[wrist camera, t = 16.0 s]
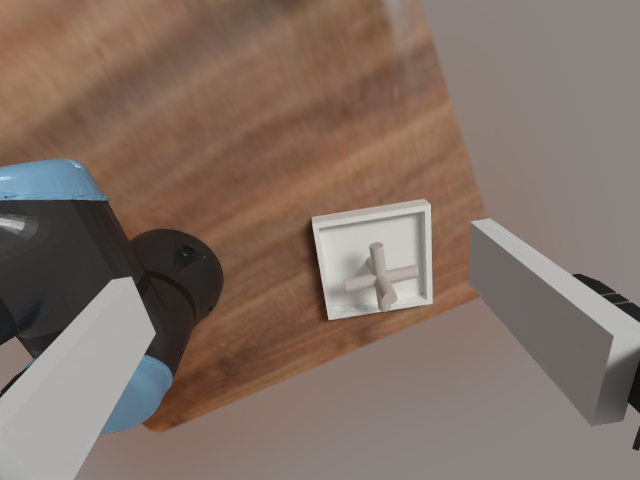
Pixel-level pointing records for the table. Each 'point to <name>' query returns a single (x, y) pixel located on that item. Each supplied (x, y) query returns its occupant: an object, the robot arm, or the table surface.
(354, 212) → the tray
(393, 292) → the pipe connector
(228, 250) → the table surface
